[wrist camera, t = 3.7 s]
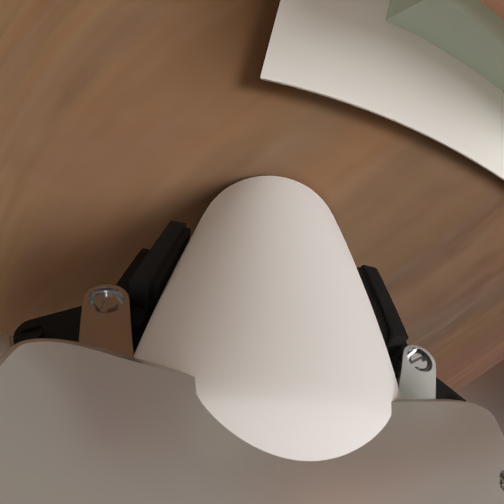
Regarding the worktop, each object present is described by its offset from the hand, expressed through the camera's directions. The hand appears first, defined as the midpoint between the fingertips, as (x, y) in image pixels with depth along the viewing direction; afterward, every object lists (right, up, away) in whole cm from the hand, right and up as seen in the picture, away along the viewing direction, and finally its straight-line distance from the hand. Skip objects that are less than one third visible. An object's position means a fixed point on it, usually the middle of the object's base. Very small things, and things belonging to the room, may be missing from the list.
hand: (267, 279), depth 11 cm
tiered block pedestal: (+12, +14, -5) cm, 19 cm away
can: (0, +2, +3) cm, 4 cm away
